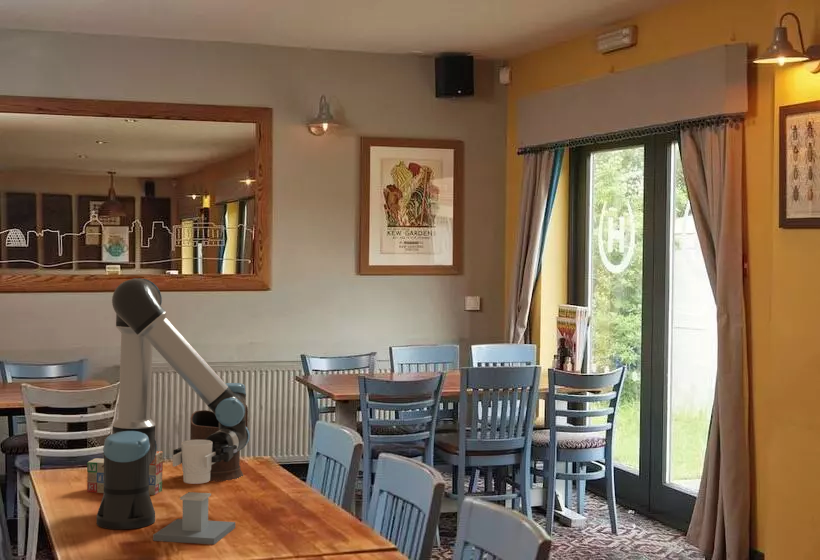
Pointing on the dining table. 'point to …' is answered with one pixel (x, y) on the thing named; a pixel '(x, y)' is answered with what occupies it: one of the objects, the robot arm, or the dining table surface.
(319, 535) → the dining table surface
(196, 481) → the white cup
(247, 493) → the dining table surface
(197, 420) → the cup holder
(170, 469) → the dining table surface
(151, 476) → the stack of blocks
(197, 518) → the narrow pillar
